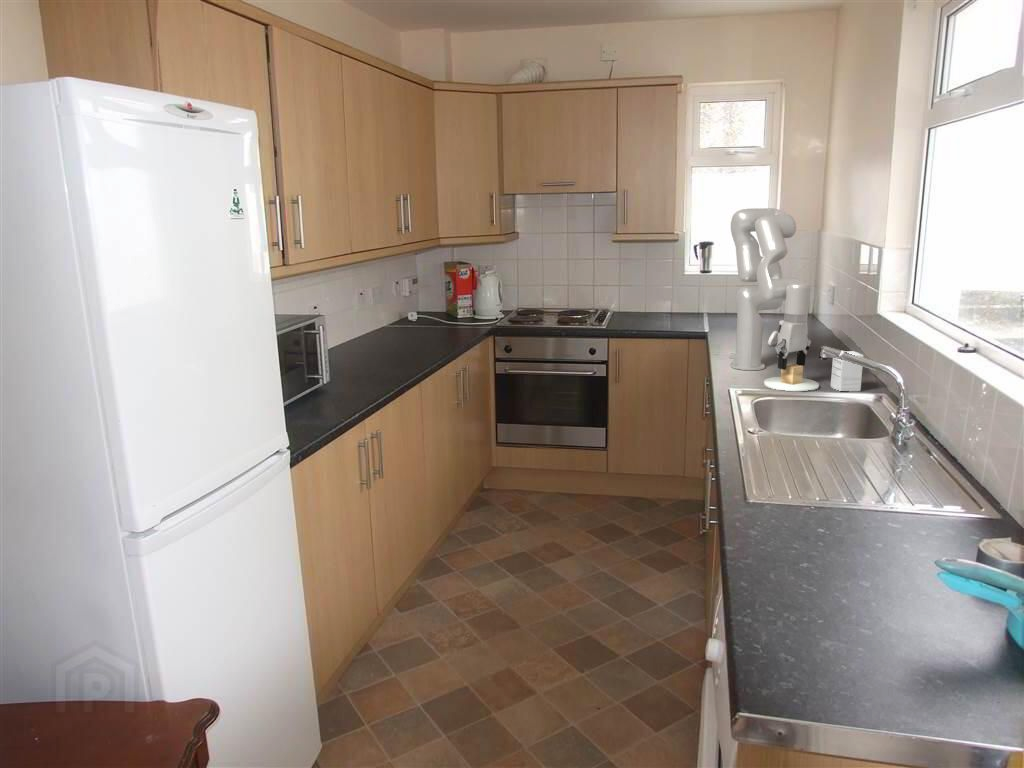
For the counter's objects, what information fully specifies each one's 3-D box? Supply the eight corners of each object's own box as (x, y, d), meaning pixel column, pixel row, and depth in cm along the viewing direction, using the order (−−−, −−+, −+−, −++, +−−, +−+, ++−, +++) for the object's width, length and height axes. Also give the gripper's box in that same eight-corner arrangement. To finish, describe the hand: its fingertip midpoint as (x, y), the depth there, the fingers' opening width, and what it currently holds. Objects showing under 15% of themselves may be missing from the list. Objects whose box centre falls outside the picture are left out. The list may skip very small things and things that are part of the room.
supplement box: (850, 386, 265) (854, 350, 262) (860, 391, 258) (864, 354, 255) (829, 386, 265) (832, 351, 262) (839, 392, 258) (842, 355, 255)
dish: (752, 384, 270) (753, 381, 269) (786, 377, 279) (787, 374, 279) (795, 394, 255) (795, 391, 254) (829, 387, 264) (830, 384, 264)
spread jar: (797, 350, 327) (799, 323, 324) (769, 349, 329) (771, 322, 327) (792, 345, 339) (794, 319, 336) (766, 344, 341) (767, 318, 338)
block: (780, 382, 267) (781, 365, 266) (790, 380, 270) (791, 363, 268) (792, 384, 263) (793, 367, 262) (801, 382, 266) (803, 366, 264)
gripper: (802, 314, 269) (798, 361, 273) (769, 319, 260) (765, 368, 265) (821, 317, 263) (816, 365, 267) (787, 322, 254) (783, 372, 258)
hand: (791, 367), depth 266 cm, fingers open, 9 cm apart
